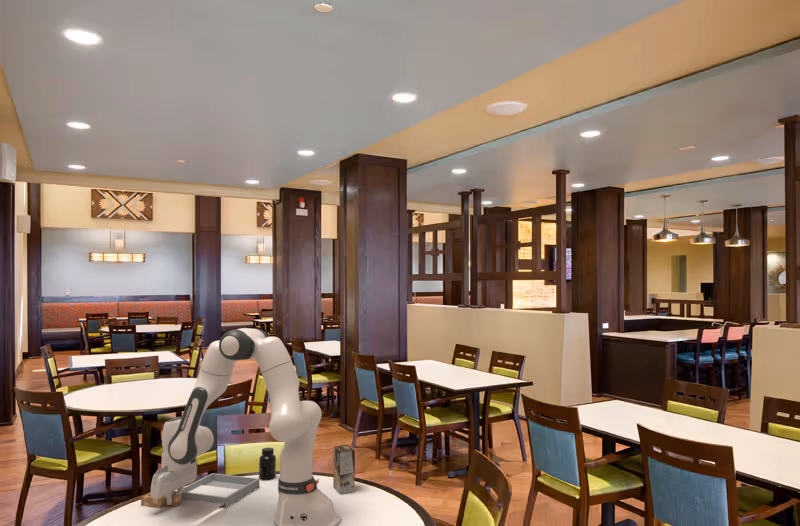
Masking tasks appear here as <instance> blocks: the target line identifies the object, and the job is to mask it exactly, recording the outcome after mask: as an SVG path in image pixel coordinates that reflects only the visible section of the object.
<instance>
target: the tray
mask: <svg viewBox="0 0 800 526" xmlns="http://www.w3.org/2000/svg"><path fill="white" fill-rule="evenodd" d="M200 486H206V487H207V486H208V487H215V488H223V489H231V490H235V491H234V492H232V493H230V494H228V495H227V496H220V495H210V494H203V493H195V492H191V491H192V490H195V489H196V488H198V487H200ZM257 488H258V489H259V488H260V479H259V477H258V478H256V477H249V476H248V477H247V476H241V475H240V476H239V475H232V474H223V473H214V472H213V473H210V474H207V475H206V476H204V477H201V479H198V480H195V481H193V482H191V483H189V484H187V485H185V486H184V489H183V492H182V494H181V499H184V500H185V499H186V500H192V501H193V500H194V501H200V502H201V501H202V502H208V503H216V504H222V505H220V506H219V508H221V507H225V508H224V509H227V508H229V507H230V506H232V505H233V503H234V502H235V503H237V502H239V501H240V500H242V499H244V498H245V497H247V496H248V495H250V494H251V493H253V492H254V490H255V489H256V490H258V489H257ZM256 490H255V491H256ZM252 491H253V492H252ZM250 492H251V493H250ZM249 493H250V494H249ZM247 494H248V495H247ZM246 495H247V496H246ZM244 496H245V497H244ZM241 498H242V499H241ZM239 499H240V500H239ZM236 501H237V502H236ZM235 503H234V504H235ZM231 504H232V505H231ZM228 506H229V507H228ZM226 507H227V508H226Z"/></svg>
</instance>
